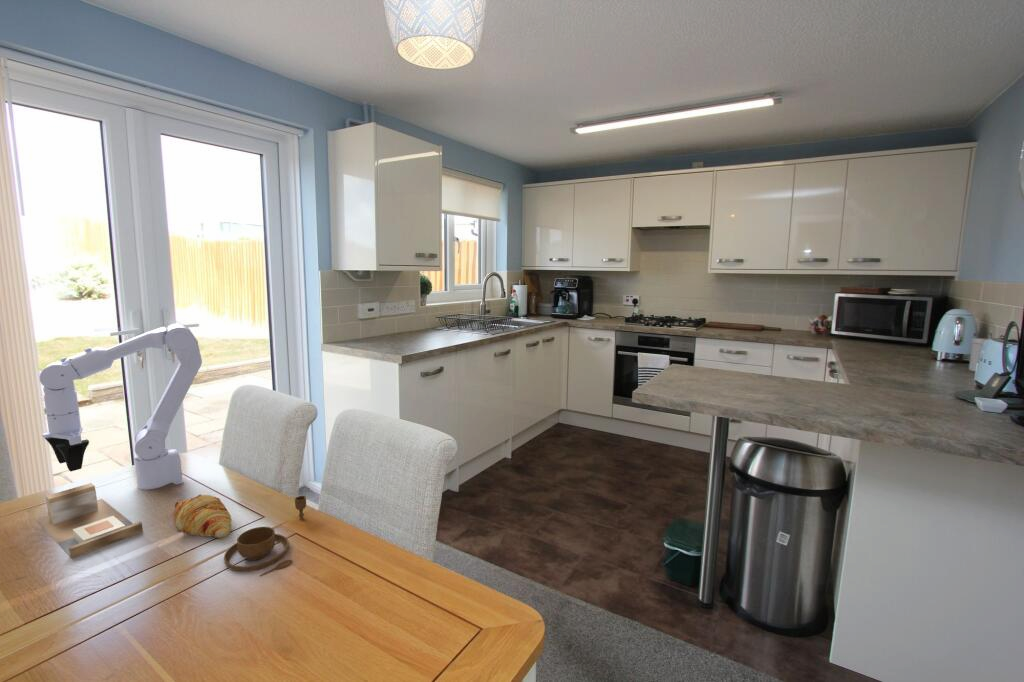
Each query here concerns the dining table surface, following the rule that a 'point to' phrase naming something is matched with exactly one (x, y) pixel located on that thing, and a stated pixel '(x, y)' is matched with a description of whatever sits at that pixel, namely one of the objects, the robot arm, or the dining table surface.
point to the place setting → (262, 544)
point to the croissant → (202, 516)
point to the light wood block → (71, 503)
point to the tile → (97, 529)
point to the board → (65, 529)
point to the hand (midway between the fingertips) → (70, 465)
